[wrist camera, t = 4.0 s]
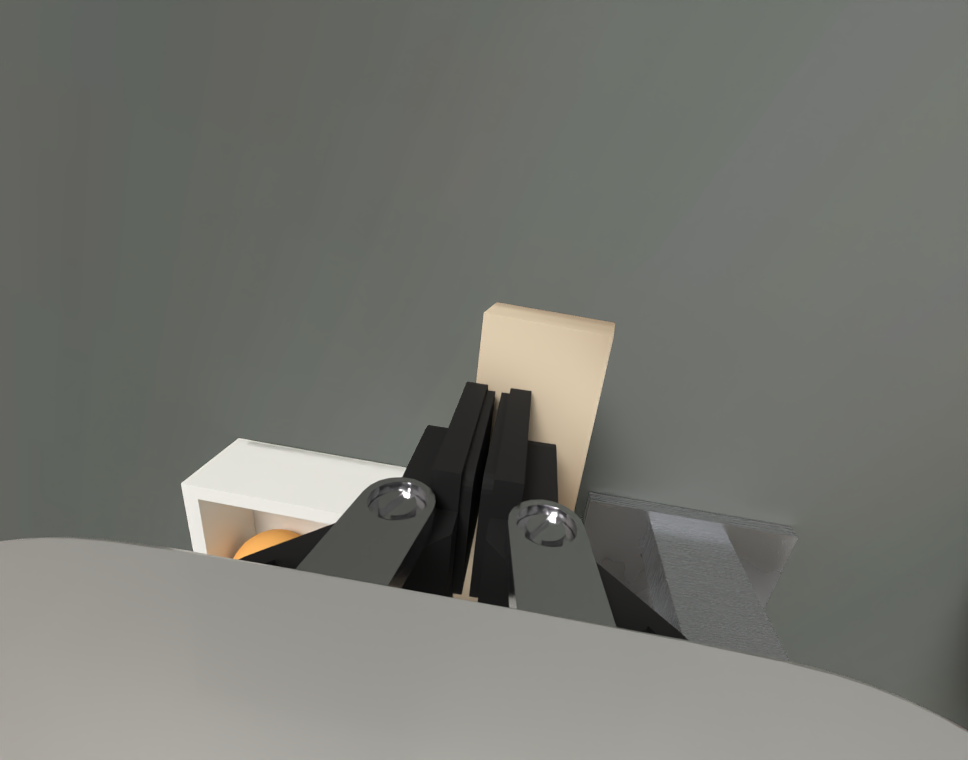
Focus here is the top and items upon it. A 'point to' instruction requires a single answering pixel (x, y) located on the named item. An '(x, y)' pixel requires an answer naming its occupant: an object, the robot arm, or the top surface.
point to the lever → (547, 383)
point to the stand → (694, 567)
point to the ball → (264, 541)
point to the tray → (271, 493)
